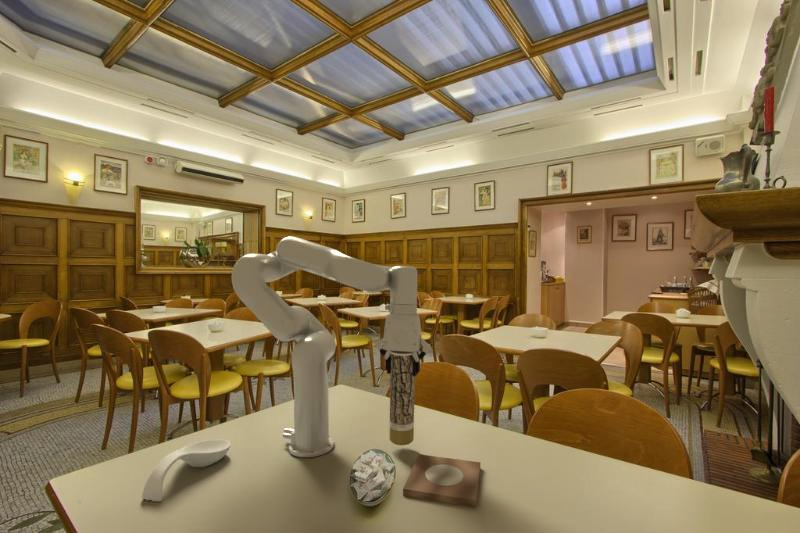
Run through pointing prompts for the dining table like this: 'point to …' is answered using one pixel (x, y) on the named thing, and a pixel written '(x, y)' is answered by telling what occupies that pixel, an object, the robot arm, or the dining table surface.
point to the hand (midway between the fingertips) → (402, 373)
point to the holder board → (444, 480)
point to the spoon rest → (192, 455)
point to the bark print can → (401, 398)
